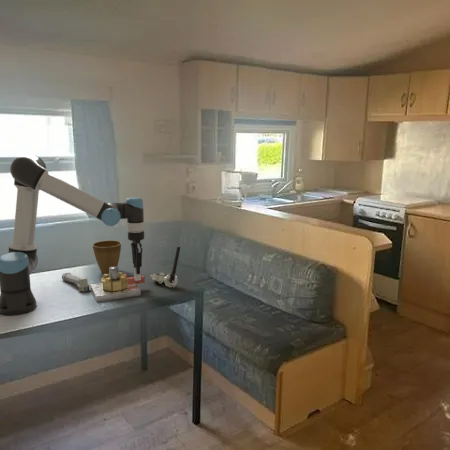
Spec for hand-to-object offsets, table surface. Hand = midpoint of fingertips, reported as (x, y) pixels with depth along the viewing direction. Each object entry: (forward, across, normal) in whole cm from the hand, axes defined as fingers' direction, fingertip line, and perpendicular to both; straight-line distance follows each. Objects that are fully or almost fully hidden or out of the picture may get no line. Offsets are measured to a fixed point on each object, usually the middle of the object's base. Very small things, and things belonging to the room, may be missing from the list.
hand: (137, 279), depth 217 cm
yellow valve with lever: (+3, +2, +6) cm, 7 cm away
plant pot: (+6, +36, +8) cm, 38 cm away
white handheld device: (+6, +21, +26) cm, 34 cm away
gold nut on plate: (+6, +2, +10) cm, 12 cm away
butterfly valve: (+6, +5, -14) cm, 16 cm away
